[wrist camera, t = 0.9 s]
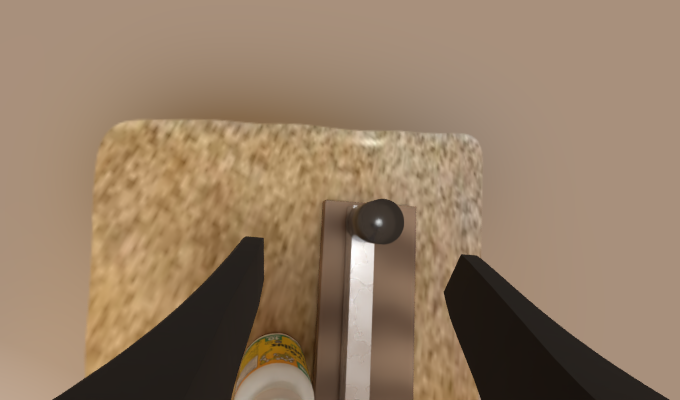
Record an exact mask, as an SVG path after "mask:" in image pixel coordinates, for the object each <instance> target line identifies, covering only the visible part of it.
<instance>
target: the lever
mask: <svg viewBox="0 0 680 400" xmlns="http://www.w3.org/2000/svg"><path fill="white" fill-rule="evenodd" d="M403 228H404V216H403V213H402V211H401V209H400V208H399V207H398V206H397V205H396V204H395V203H394V202H392V201H390V200H387V199H378V200H374V201H371V202H368V203H364V204H361V205H352V206H349V207H347V217H346V229H347V230H346V252H345V275H344V298H343V321H342V344H341V367H340V390H339V400H369V395H370V364H371V333H372V303H373V272H374V244H382V245H385V244H390V243H392V242H394V241H395V240H397V239H398V238H399V237H400V235H401V233H402V231H403Z"/></svg>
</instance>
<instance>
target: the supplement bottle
mask: <svg viewBox="0 0 680 400" xmlns="http://www.w3.org/2000/svg"><path fill="white" fill-rule="evenodd" d="M234 400H314V391H313V387H312V384H311V380H310V377H309V373H308V369H307V365H306V362H305V358H304V354H303V351H302V349H301V347H300V345H299V344H298V342H297V341H296V340H295V339H293V338H292V337H290V336H288V335H286V334H282V333H273V334H267V335H264V336H261V337H259V338H258V339H256V340H255V341H254V342H253V343H252V344H251V345H250V346H249V348H248V349H247V351H246V352H245V354H244V357H243V359H242V363H241V367H240V371H239V377H238V381H237V386H236V390H235V395H234Z"/></svg>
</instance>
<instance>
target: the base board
mask: <svg viewBox="0 0 680 400" xmlns="http://www.w3.org/2000/svg"><path fill="white" fill-rule="evenodd" d="M361 204H364V203H357V202H343V201H329V200H325V201H324V202H323V210H322V229H321V248H320V266H319V285H318V304H317V323H316V341H315V360H314V379H313V391H314V400H339V390H340V367H341V344H342V321H343V298H344V275H345V252H346V230H347V229H346V217H347V207H349V206H352V205H361ZM397 206H398V205H397ZM398 207H399V208H400V209H401V211H402V213H403V216H404V228H403V231H402V233H401V235H400V237H399V238H398V239H397V240H395V241H394V242H392V243H390V244H385V245H382V244H374V272H373V303H372V333H371V364H370V395H369V400H413V376H414V315H415V253H416V207H412V206H398Z"/></svg>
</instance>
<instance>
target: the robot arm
mask: <svg viewBox="0 0 680 400" xmlns="http://www.w3.org/2000/svg"><path fill="white" fill-rule="evenodd" d="M263 282H264V238H258V237H244V238H243V239H242V240H241V241H240V243H239V244H238V245H237V246H236V248H235V249H234V250H233V251H232V252H231V254H230V255H229V256H228V257H227V258H226V259H225V261H224V262H223V263H222V264H221V265H220V266H219V267H218V268H217V269H216V270H215V271H214V272H213V274H212V275H211V276H210V277H209V278H208V279H207V280H206V281H205V282H204V283H203V284H202V285H201V286H200V287H199V288H198V289H197V290H196V291H195V292H194V293H193V294H192V295H191V296H190V297H188V298H187V299H186V300H185V301H184V302H183V303H182V304H181V305H180V306H179V307H178V308H177V309H175V310H174V311H173V312H172V313H171V314H170V315H169V316H167V317H166V318H165V319H164V320H163V321H161V322H160V323H159V324H158V325H157V326H155V327H154V328H153V329H152V330H151V331H149V332H148V333H147V334H145V335H144V336H143V337H142V338H140V339H139V340H138V341H136V342H135V343H134V344H132V345H131V346H130V347H129V348H127V349H126V350H125V351H123V352H122V353H121V354H119V355H118V356H116V357H115V358H114V359H112V360H111V361H109V362H108V363H107V364H105V365H104V366H102V367H101V368H99V369H98V370H96V371H95V372H93V373H92V374H90V375H89V376H87V377H86V378H84V379H83V380H82V381H80V382H79V383H77V384H76V385H74V386H73V387H71V388H70V389H68V390H67V391H65V392H64V393H62V394H61V395H59V396H58V397H56V398H54V399H53V400H231V396H232V392H233V388H234V384H235V380H236V377H237V373H238V370H239V366H240V363H241V360H242V357H243V354H244V351H245V348H246V345H247V341H248V338H249V335H250V332H251V329H252V326H253V323H254V319H255V316H256V313H257V310H258V306H259V302H260V297H261V292H262V287H263ZM444 295H445V300H446V304H447V308H448V312H449V316H450V319H451V322H452V325H453V327H454V330H455V332H456V335H457V338H458V340H459V343H460V345H461V348H462V350H463V353H464V355H465V358H466V360H467V363H468V365H469V368H470V370H471V373H472V375H473V378H474V380H475V383H476V386H477V389H478V392H479V395H480V398H481V400H669V399H667V398H666V397H664V396H663V395H661V394H659V393H658V392H656V391H654V390H653V389H651V388H649V387H648V386H646V385H644V384H643V383H641V382H640V381H638V380H637V379H635V378H634V377H632V376H630V375H629V374H627V373H626V372H624V371H623V370H621V369H619V368H618V367H617V366H615V365H614V364H612V363H611V362H609V361H607V360H606V359H605V358H603V357H602V356H600V355H599V354H598V353H596V352H595V351H593V350H592V349H591V348H589V347H588V346H586V345H585V344H584V343H582V342H581V341H579V340H578V339H577V338H575V337H574V336H572V335H571V334H570V333H569V332H567V331H566V330H565V329H563V328H562V327H561V326H560V325H558V324H557V323H556V322H555V321H553V320H552V319H551V318H549V317H548V316H547V315H546V314H545V313H543V312H542V311H541V310H540V309H538V308H537V307H536V306H535V305H534V304H533V303H531V302H530V301H529V300H528V299H527V298H526V297H524V296H523V295H522V294H521V293H520V292H519V291H518V290H516V289H515V288H514V287H513V286H512V285H510V283H508V282H507V281H506V280H505V279H504V278H503V277H502V276H500V275H499V274H498V273H497V272H496V271H495V270H494V269H493V268H491V267H490V266H489V265H488V264H487V263H486V262H484V261H483V260H482V259H481V258H479V257H478V256H475V255H463V254H461V256H460V258H459V260H458V262H457V265H456V267H455V269H454V271H453V273H452V275H451V278H450V280H449V282H448V284H447V286H446V288H445V291H444Z"/></svg>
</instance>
